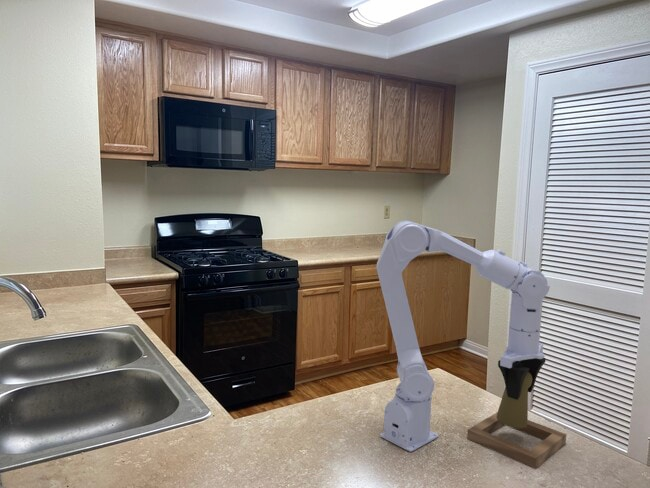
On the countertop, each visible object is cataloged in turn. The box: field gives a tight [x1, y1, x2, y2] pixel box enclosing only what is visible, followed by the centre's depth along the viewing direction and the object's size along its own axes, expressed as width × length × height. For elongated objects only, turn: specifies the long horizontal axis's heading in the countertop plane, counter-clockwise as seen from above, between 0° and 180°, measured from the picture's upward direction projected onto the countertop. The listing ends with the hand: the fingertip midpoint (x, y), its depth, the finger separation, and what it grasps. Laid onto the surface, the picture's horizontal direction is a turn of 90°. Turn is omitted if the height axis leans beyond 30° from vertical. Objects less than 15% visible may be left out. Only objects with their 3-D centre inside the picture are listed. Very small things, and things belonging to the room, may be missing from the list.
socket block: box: [466, 411, 567, 469], centre depth 97 cm, size 14×14×2 cm
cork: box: [496, 372, 532, 429], centre depth 97 cm, size 6×6×11 cm
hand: (519, 394), depth 96 cm, fingers closed on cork, 5 cm apart
